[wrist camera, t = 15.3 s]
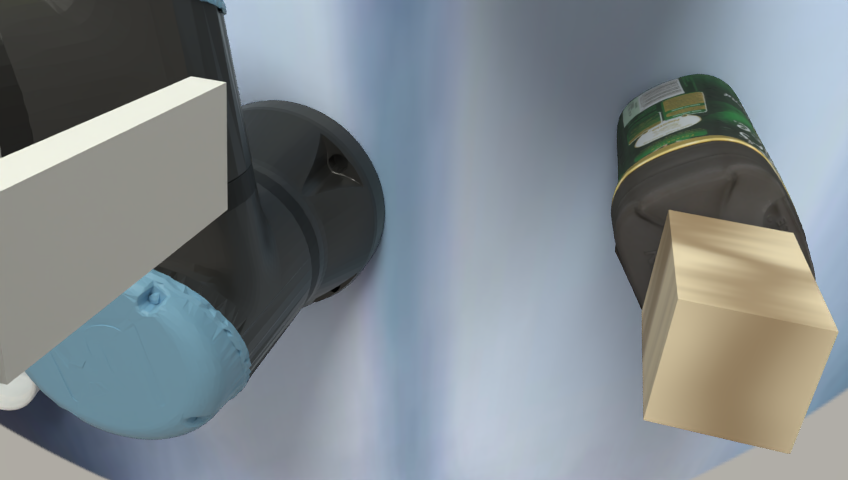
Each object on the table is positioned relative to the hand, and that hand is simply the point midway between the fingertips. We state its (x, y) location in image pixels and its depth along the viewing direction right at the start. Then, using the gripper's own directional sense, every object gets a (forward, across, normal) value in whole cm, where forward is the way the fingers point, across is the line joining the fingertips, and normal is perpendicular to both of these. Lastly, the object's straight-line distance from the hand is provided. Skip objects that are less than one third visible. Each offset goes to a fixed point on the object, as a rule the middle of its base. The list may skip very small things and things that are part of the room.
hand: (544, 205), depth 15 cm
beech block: (+18, +7, -9) cm, 22 cm away
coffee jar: (+37, +7, -9) cm, 39 cm away
